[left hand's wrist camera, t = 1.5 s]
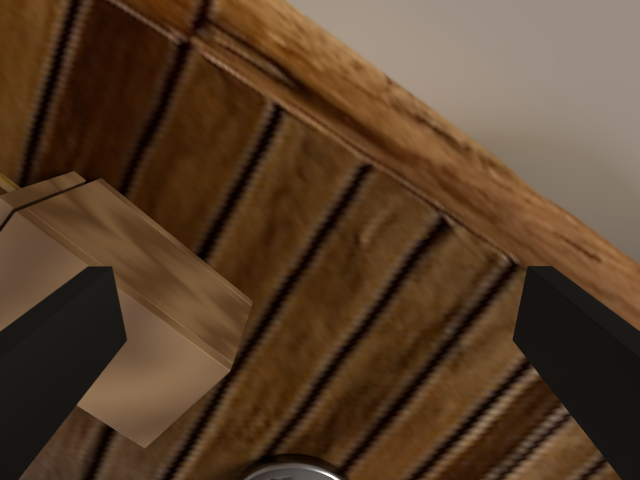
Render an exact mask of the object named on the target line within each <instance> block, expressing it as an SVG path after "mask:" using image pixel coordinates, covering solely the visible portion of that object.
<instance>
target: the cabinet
mask: <svg viewBox="0 0 640 480" xmlns="http://www.w3.org/2000/svg"><path fill="white" fill-rule="evenodd" d="M88 266H112V267H113V272H114V277H115V282H116V287H117V292H118V297H119V302H120V306H121V311H122V316H123V321H124V326H125V331H126V336H127V341H126V343H125V344H124V345H123V346H122V348H121V349H120V350H119V351H118V353H117V354H116V355H115V357H114V358H113V359H112V360H111V362H110V363H109V364H108V366H107V367H106V368H105V369H104V371H103V372H102V373H101V374H100V376H99V377H98V378H97V380H96V381H95V382H94V383H93V385H92V386H91V387H90V388H89V390H88V391H87V392H86V394H85V395H84V396H83V397H82V399H81V400H80V401H79V403H78V404H77V406H79V407H80V408H82V409H83V410H85V411H87V412H88V413H90V414H91V415H93V416H95V417H96V418H98V419H99V420H101V421H102V422H104V423H106V424H107V425H109V426H110V427H112V428H113V429H115V430H117V431H118V432H120V433H121V434H123V435H125V436H126V437H128V438H129V439H131V440H132V441H134V442H136V443H137V444H139V445H140V446H142V447H143V448H146V447H147V446H148V445H149V444H150V443H151V442H152V441H154V440H155V439H156V438H157V437H158V436H159V435H160V434H161V433H162V432H163V431H165V430H166V429H167V428H168V427H169V426H170V425H171V424H172V423H173V422H175V421H176V420H177V419H178V418H179V417H180V416H181V415H182V414H183V413H184V412H186V411H187V410H188V409H189V408H190V407H191V406H192V405H193V404H194V403H196V402H197V401H198V400H199V399H200V398H201V397H202V396H203V395H204V394H205V393H207V392H208V391H209V390H210V389H211V388H212V387H213V386H214V385H215V384H217V383H218V382H219V381H220V380H221V379H222V378H223V377H224V376H225V375H226V374H228V373H229V372H230V370H231V367H232V364H233V361H234V358H235V355H236V352H237V349H238V346H239V343H240V340H241V337H242V334H243V330H244V327H245V324H246V321H247V318H248V315H249V312H250V309H251V306H252V303H253V301H252V300H251V299H249V298H248V297H247V296H246V295H244V294H243V293H242V292H241V291H240V290H238V289H237V288H236V287H235V286H233V285H232V284H231V283H230V282H228V281H227V280H226V279H225V278H224V277H222V276H221V275H220V274H219V273H217V272H216V271H215V270H214V269H212V268H211V267H210V266H209V265H208V264H206V263H205V262H204V261H203V260H201V259H200V258H199V257H198V256H197V255H195V254H194V253H193V252H192V251H190V250H189V249H188V248H187V247H185V246H184V245H183V244H182V243H181V242H179V241H178V240H177V239H176V238H174V237H173V236H172V235H171V234H169V233H168V232H167V231H166V230H165V229H163V228H162V227H161V226H160V225H158V224H157V223H156V222H155V221H154V220H152V219H151V218H150V217H149V216H147V215H146V214H145V213H144V212H142V211H141V210H140V209H139V208H138V207H136V206H135V205H134V204H133V203H131V202H130V201H129V200H128V199H126V198H125V197H124V196H123V195H122V194H120V193H119V192H118V191H117V190H115V189H114V188H113V187H112V186H111V185H109V184H108V183H107V182H106V181H104V180H103V179H102V178H100V179H97V180H95V181H92V182H90V183H87V184H85V185H82V186H80V187H77V188H75V189H72V190H69V191H67V192H64V193H62V194H59V195H57V196H54V197H52V198H49V199H47V200H44V201H41V202H39V203H36V204H34V205H31V206H29V207H26V208H25V209H21V210H19V211H16V212H15V213H14V214H13V215H12V217H11V218H10V220H9V221H8V222H7V224H6V225H5V226H4V228H3V229H2V231H1V232H0V331H1V330H3V329H4V328H5V327H7V326H8V325H9V324H11V323H12V322H13V321H15V320H16V319H18V318H19V317H20V316H22V315H23V314H24V313H26V312H27V311H28V310H30V309H31V308H32V307H34V306H35V305H36V304H38V303H39V302H40V301H42V300H43V299H45V298H46V297H47V296H49V295H50V294H51V293H53V292H54V291H55V290H57V289H58V288H59V287H61V286H62V285H63V284H65V283H66V282H67V281H69V280H70V279H71V278H73V277H74V276H76V275H77V274H78V273H80V272H81V271H82V270H84V269H85V268H86V267H88Z"/></svg>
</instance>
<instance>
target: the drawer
mask: <svg viewBox="0 0 640 480" xmlns="http://www.w3.org/2000/svg"><path fill="white" fill-rule="evenodd" d="M85 182H86V180H85V179H83V178H82V177H81V176H80V175H78V174H77V173H76V172H75V171H73V172H70V173H67V174H64V175H61V176H58V177H55V178H51V179H48V180H45V181H42V182H39V183H36V184H33V185H30V186H27V187H24V188H20V187H19V186H18V185H16V184H15V183H14V182H12V181H11V180H10V179H8V178H7V177H6V176H5V175H3V174H2V173H1V172H0V186H1V187H2V188H3V189H4V190H6V191H7V192H8V193H5V194H2V195H0V232H1V231H2V229H3V228H4V226H5V225H6V224H7V222H8V221H9V220H10V218H11V217H12V215H13V214H14V213H15V212H16V211H19V210H21V209H25V208H26V207H29V206H31V205H34V204H36V203H39V202H41V201H44V200H47V199H49V198H52V197H54V196H57V195H59V194H62V193H64V192H67V191H69V190H72V189H75V188H77V187H80V186H82V185H83V184H84V183H85Z"/></svg>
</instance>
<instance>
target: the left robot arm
mask: <svg viewBox="0 0 640 480" xmlns="http://www.w3.org/2000/svg"><path fill="white" fill-rule="evenodd" d="M126 341H127V336H126V331H125V326H124V321H123V316H122V311H121V306H120V302H119V297H118V292H117V287H116V282H115V277H114V272H113V267H112V266H88V267H86V268H85V269H84V270H82V271H81V272H80V273H78V274H77V275H76V276H74V277H73V278H71V279H70V280H69V281H67V282H66V283H65V284H63V285H62V286H61V287H59V288H58V289H57V290H55V291H54V292H53V293H51V294H50V295H49V296H47V297H46V298H45V299H43V300H42V301H40V302H39V303H38V304H36V305H35V306H34V307H32V308H31V309H30V310H28V311H27V312H26V313H24V314H23V315H22V316H20V317H19V318H18V319H16V320H15V321H13V322H12V323H11V324H9V325H8V326H7V327H5V328H4V329H3V330H1V331H0V480H18V479H19V478H20V477H21V475H22V474H23V473H24V471H25V470H26V469H27V468H28V466H29V465H30V464H31V463H32V461H33V460H34V459H35V457H36V456H37V455H38V454H39V452H40V451H41V450H42V448H43V447H44V446H45V445H46V443H47V442H48V441H49V440H50V438H51V437H52V436H53V434H54V433H55V432H56V431H57V429H58V428H59V427H60V425H61V424H62V423H63V422H64V420H65V419H66V418H67V417H68V415H69V414H70V413H71V411H72V410H73V409H74V408H75V406H76V405H77V404H78V403H79V401H80V400H81V399H82V397H83V396H84V395H85V394H86V392H87V391H88V390H89V388H90V387H91V386H92V385H93V383H94V382H95V381H96V380H97V378H98V377H99V376H100V374H101V373H102V372H103V371H104V369H105V368H106V367H107V366H108V364H109V363H110V362H111V360H112V359H113V358H114V357H115V355H116V354H117V353H118V351H119V350H120V349H121V348H122V346H123V345H124V344H125V343H126ZM513 341H514V343H515V344H516V345H517V346H518V348H519V349H520V350H521V351H522V353H523V354H524V355H525V357H526V358H527V359H528V360H529V362H530V363H531V364H532V366H533V367H534V368H535V369H536V371H537V372H538V373H539V374H540V376H541V377H542V378H543V380H544V381H545V382H546V383H547V385H548V386H549V387H550V388H551V390H552V391H553V392H554V394H555V395H556V396H557V397H558V399H559V400H560V401H561V403H562V404H563V405H564V406H565V408H566V409H567V410H568V411H569V413H570V414H571V415H572V417H573V418H574V419H575V420H576V422H577V423H578V424H579V425H580V427H581V428H582V429H583V431H584V432H585V433H586V434H587V436H588V437H589V438H590V440H591V441H592V442H593V443H594V445H595V446H596V447H597V448H598V450H599V451H600V452H601V454H602V455H603V456H604V457H605V459H606V460H607V461H608V463H609V464H610V465H611V466H612V468H613V469H614V470H615V471H616V473H617V474H618V475H619V477H620V478H621V479H622V480H640V331H639V330H637V329H636V328H635V327H633V326H632V325H631V324H629V323H628V322H627V321H625V320H624V319H622V318H621V317H620V316H618V315H617V314H616V313H614V312H613V311H612V310H610V309H609V308H608V307H606V306H605V305H604V304H602V303H601V302H600V301H598V300H597V299H595V298H594V297H593V296H591V295H590V294H589V293H587V292H586V291H585V290H583V289H582V288H581V287H579V286H578V285H577V284H575V283H574V282H573V281H571V280H570V279H569V278H567V277H566V276H564V275H563V274H562V273H560V272H559V271H558V270H556V269H555V268H554V267H552V266H528V267H527V272H526V277H525V282H524V287H523V292H522V297H521V302H520V306H519V311H518V316H517V321H516V326H515V331H514V336H513ZM238 480H349V478H348V477H347V476H346V475H345V474H344V473H343V472H342V471H341V470H339V469H338V468H336V467H335V466H333V465H331V464H330V463H328V462H325V461H323V460H320V459H317V458H313V457H308V456H301V455H285V456H277V457H273V458H269V459H266V460H263V461H261V462H258V463H256V464H255V465H253V466H251V467H250V468H248V469H247V470H246V471H245V472H244V473H243V474H242V475H241V476H240V477H239V479H238Z"/></svg>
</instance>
